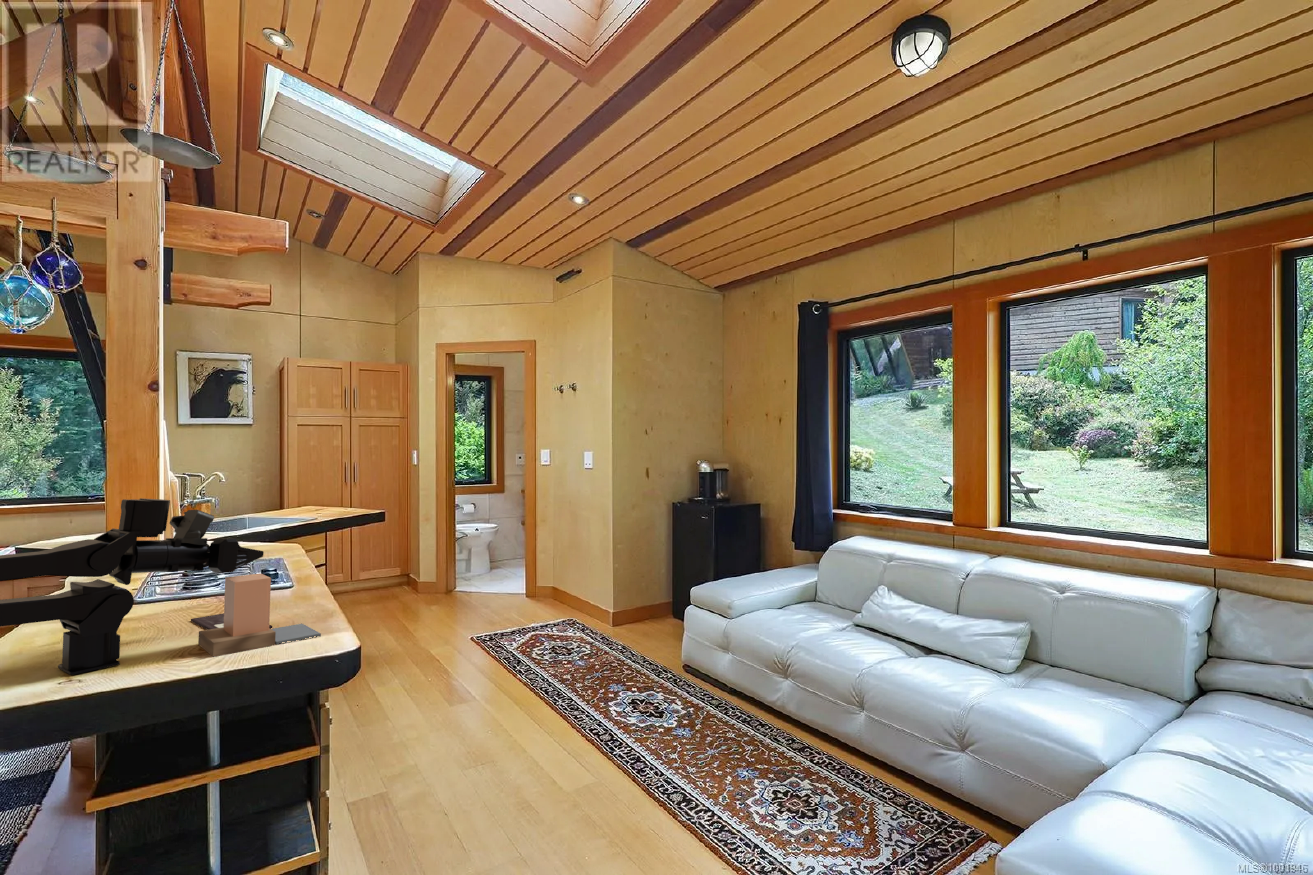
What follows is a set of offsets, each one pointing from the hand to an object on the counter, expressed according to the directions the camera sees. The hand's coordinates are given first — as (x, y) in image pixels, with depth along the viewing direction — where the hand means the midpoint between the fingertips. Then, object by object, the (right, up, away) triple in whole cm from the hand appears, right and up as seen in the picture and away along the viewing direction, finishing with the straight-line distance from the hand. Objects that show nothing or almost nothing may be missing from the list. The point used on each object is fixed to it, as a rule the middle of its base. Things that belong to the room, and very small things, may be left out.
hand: (250, 553), depth 130 cm
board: (+3, -16, -8) cm, 18 cm away
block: (+4, -13, -7) cm, 16 cm away
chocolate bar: (-7, -17, +5) cm, 19 cm away
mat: (+9, -16, -2) cm, 18 cm away
